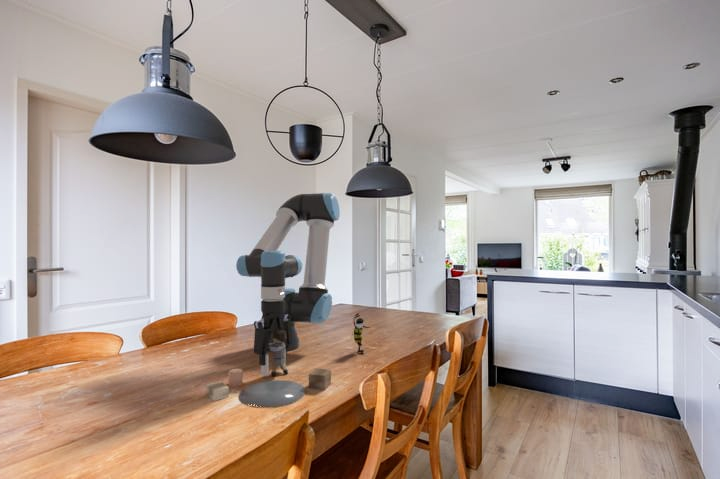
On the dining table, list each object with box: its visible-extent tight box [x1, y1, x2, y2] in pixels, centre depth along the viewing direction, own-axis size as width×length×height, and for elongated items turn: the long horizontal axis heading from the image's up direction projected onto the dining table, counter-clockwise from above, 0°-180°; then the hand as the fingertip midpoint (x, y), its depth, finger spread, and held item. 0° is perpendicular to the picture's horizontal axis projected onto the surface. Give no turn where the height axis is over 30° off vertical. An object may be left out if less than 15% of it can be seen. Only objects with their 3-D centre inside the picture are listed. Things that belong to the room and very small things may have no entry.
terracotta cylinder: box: [227, 368, 244, 388], centre depth 110 cm, size 4×4×5 cm
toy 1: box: [268, 330, 289, 378], centre depth 117 cm, size 8×10×15 cm
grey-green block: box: [205, 380, 230, 402], centre depth 102 cm, size 6×4×4 cm, turn 41°
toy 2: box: [351, 312, 371, 355], centre depth 144 cm, size 7×8×15 cm
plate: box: [238, 379, 306, 408], centre depth 104 cm, size 18×18×1 cm
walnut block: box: [308, 368, 332, 391], centre depth 109 cm, size 5×5×5 cm
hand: (273, 371), depth 118 cm, fingers open, 6 cm apart
